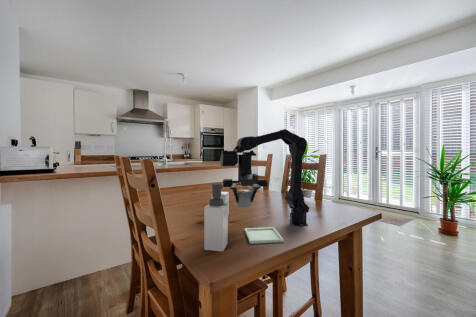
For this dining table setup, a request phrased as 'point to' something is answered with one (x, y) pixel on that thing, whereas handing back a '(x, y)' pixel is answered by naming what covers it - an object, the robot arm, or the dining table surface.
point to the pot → (244, 198)
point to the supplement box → (224, 198)
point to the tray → (263, 235)
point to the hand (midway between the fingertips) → (244, 202)
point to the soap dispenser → (216, 221)
